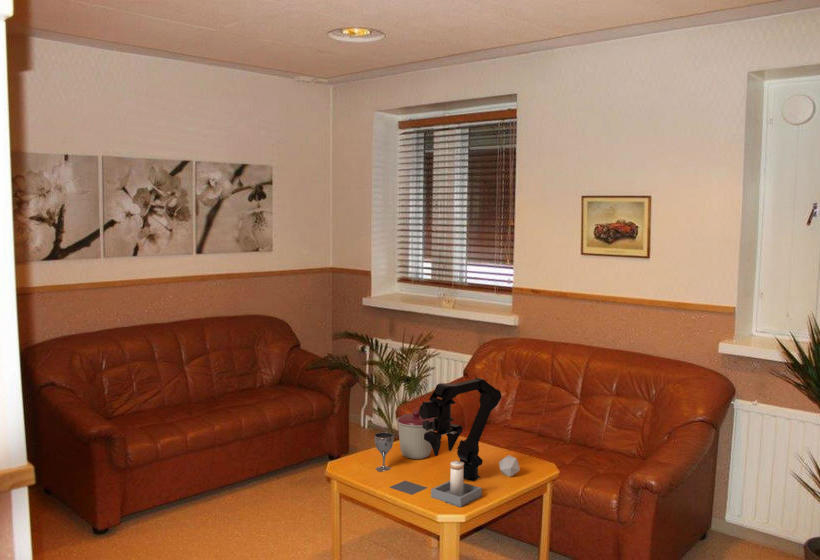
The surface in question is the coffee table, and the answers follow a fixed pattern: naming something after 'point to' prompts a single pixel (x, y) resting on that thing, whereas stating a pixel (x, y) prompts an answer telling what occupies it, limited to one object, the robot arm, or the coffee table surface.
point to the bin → (444, 495)
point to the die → (509, 465)
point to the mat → (408, 487)
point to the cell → (456, 478)
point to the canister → (413, 436)
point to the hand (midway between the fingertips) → (443, 453)
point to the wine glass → (383, 447)
